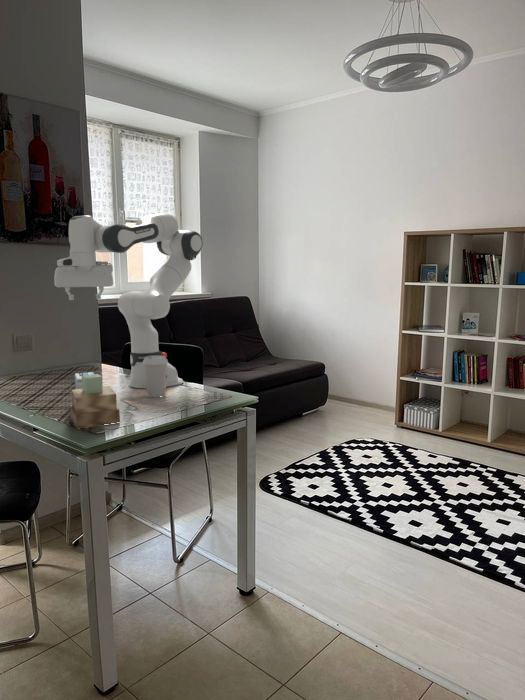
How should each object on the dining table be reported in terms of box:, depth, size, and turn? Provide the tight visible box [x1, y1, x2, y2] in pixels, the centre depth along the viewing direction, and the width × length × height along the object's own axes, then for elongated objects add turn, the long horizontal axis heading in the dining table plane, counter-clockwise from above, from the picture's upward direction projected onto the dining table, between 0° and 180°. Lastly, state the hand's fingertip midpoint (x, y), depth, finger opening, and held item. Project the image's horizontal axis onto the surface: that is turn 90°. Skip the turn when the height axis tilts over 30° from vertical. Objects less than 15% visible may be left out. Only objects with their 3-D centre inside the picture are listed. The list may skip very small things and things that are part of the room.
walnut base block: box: [69, 404, 121, 430], centre depth 166 cm, size 13×13×5 cm
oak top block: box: [71, 385, 118, 414], centre depth 165 cm, size 12×12×5 cm
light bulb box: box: [74, 371, 95, 389], centre depth 186 cm, size 11×7×11 cm, turn 23°
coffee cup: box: [143, 356, 169, 398], centre depth 198 cm, size 10×10×15 cm
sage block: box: [82, 373, 104, 394], centre depth 165 cm, size 5×5×5 cm
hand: (85, 299), depth 189 cm, fingers open, 8 cm apart
